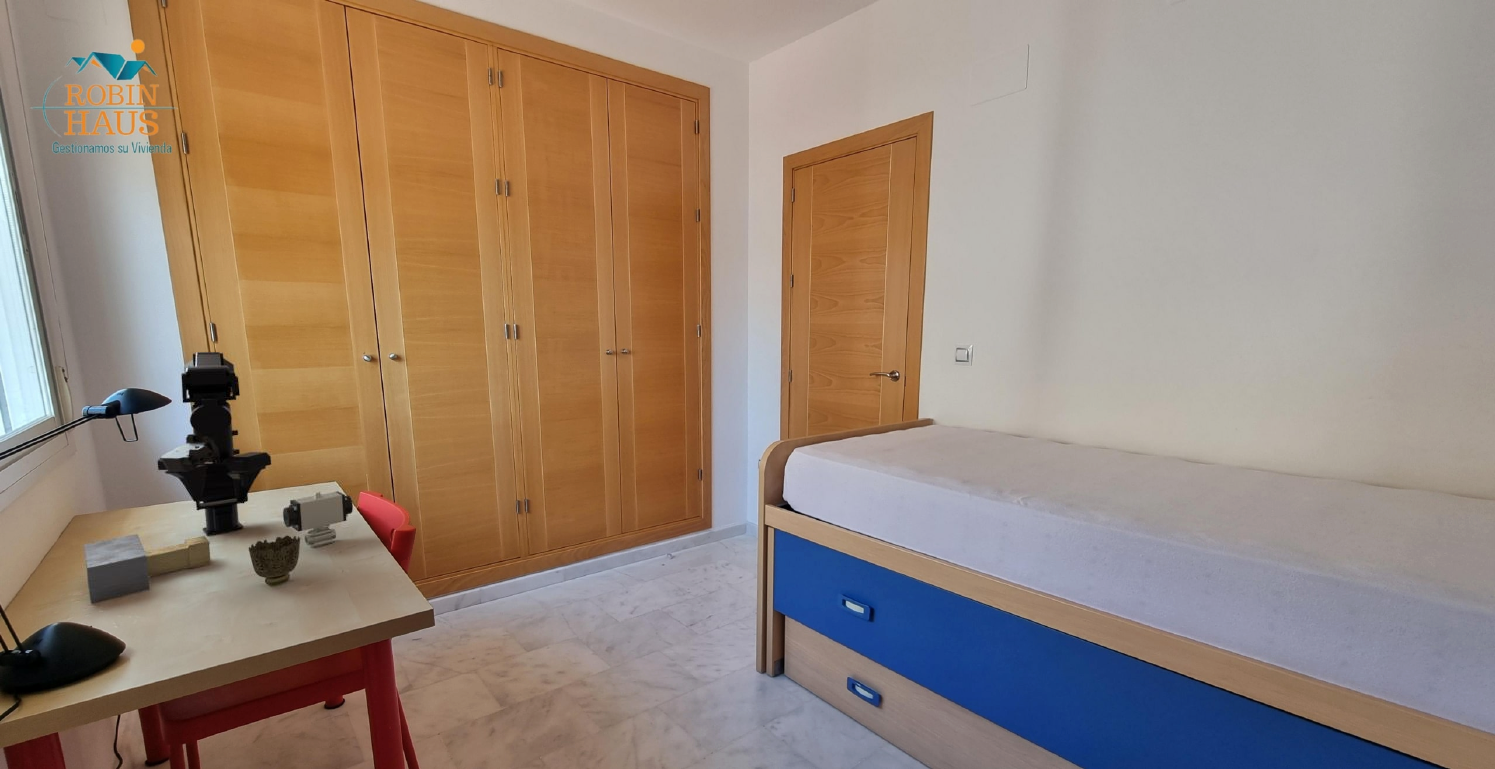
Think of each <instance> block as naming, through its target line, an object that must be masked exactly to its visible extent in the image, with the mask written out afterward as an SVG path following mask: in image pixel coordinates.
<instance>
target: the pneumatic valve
mask: <svg viewBox="0 0 1495 769" xmlns="http://www.w3.org/2000/svg"><path fill="white" fill-rule="evenodd" d="M289 502H290V504H289V505H288V506H286V507H284V508H283V511H282V518H283V523H284V525H285V527H286V528H290V527H291V528H292V529H294V530H295V531H297V532H304V531H307V532H306V534H305V536H304V542H305V544H306V546H311V547H312V548H318V547H322V545H323V546H327V545H331V544H333V543H334V540H335V539H336V538H337V531H336V528H330V525H334V524H339V523H342V522H343V523H344V522H347V517H348V516H349V515H351V514H352V513H353V509H354V506H353V500H352V497H351V496H350V495H345V493H342V492H340V491H333V492H327V493H322V494H321V491H318V492H314V495H313V496H312V495H310V496H307V497H301V498H296V499H291V500H289ZM330 543H331V544H330ZM326 544H327V545H326Z"/></svg>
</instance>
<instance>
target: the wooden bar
mask: <svg viewBox="0 0 1495 769" xmlns="http://www.w3.org/2000/svg"><path fill="white" fill-rule="evenodd" d="M210 547H211V546H210V541H209V539H208V538H207V536H206V535H202V536H198V537H194V538H193V537H192V538H188V539H184V543H181V544H176V545H175V544H174V545H170V546H166V547H161V548H156V549H151V550H146V551H145V553H146V555H147V565H148V576H149V577H153V576H156V575H157V576H158V575H161V574H166V573H170V572H173V571H179V570H182V569H188V568H189V569H194V568H199V567H204V566H207V565H211V563H212V560H211V549H210Z"/></svg>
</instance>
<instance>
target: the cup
mask: <svg viewBox="0 0 1495 769" xmlns="http://www.w3.org/2000/svg"><path fill="white" fill-rule="evenodd" d="M300 546H301V538H300V536H298V537H297V536H296V535H294V536H293V537H292V536H290V535H288V534H287V535H284V536H283V537H281V536H277V537H276V538H275V540H274V541H269V542H268V540H267V539H264V540H263V541H261V540H257V541H256V543H255V544H253V543H251V545H250V546H248V552H249V556H250V561H251V564H252V565H251V566H252V568H253V571H254V572H255V574H257V576H259V577H260V578H263V579H264V583H265V584H266V585H268V586H278V585H281V584H284V583H287V581H289V579H290V578H291V575H290V573H291V572H292V571H293V570H295V568H296V566H297V565H298V562H299V557H300V556H299V555H300Z"/></svg>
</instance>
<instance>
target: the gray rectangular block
mask: <svg viewBox="0 0 1495 769" xmlns="http://www.w3.org/2000/svg"><path fill="white" fill-rule="evenodd" d="M83 548H84V550H83V551H84V557H85V558H84V559H85V566H86V568H85V569H86V576H87V583H88V584H87V585H89V586H88V591H89V592H88V593H89V599H90V600H89V601H90V604H91V605H92V604H96V603H99V602H103V601H104V602H105V601H108V600H112V599H115V598H116V599H117V598H121V597H124V596H128V595H131V594H136V593H141V592H145V591H149V590H151V589H150V588H151V587H150V578H149V577H150V576H148V565H147V555H146V553H145V552H146V551H145V548H144V546H143V543H142V541H141V539H140V537H139V535H138V534H137V533H136V534H131V535H130V534H129V535H127V536H126V535H125V536H120V537H115V538H111V539H105V540H104V539H103V540H99V541H95V542H90V543H89V542H88V543H84V544H83Z"/></svg>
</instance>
